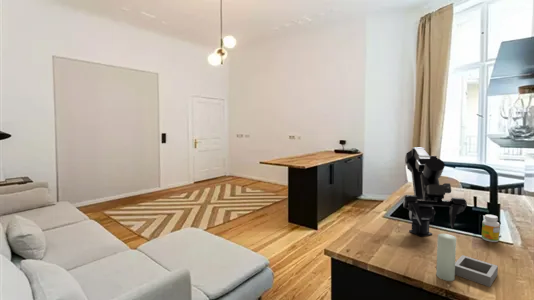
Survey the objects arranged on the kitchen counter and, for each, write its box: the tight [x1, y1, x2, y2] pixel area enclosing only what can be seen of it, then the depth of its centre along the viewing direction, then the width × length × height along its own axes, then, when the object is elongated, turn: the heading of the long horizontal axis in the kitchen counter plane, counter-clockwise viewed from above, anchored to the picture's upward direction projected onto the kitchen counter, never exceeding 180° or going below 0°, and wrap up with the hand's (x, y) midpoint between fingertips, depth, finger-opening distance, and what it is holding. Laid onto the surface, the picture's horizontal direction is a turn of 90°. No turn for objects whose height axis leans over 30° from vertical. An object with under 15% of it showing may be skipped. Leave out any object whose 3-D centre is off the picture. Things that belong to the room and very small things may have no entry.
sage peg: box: [435, 233, 457, 282], centre depth 85 cm, size 5×5×13 cm
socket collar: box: [455, 254, 499, 288], centre depth 86 cm, size 9×9×3 cm
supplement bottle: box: [481, 214, 501, 243], centre depth 109 cm, size 5×5×10 cm
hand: (436, 226), depth 92 cm, fingers open, 9 cm apart
